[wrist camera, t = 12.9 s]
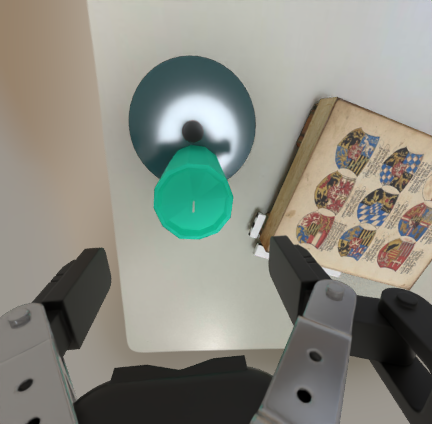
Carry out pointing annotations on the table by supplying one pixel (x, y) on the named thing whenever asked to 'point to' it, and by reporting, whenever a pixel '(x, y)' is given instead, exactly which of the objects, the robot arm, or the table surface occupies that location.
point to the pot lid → (191, 114)
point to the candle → (193, 194)
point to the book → (356, 196)
